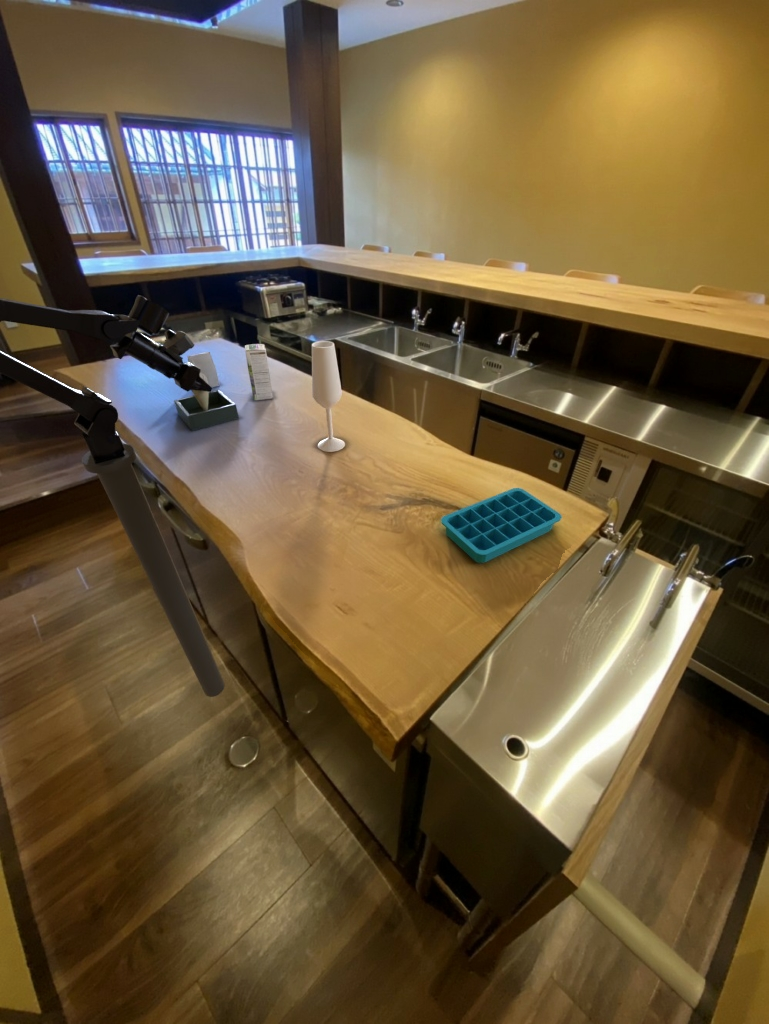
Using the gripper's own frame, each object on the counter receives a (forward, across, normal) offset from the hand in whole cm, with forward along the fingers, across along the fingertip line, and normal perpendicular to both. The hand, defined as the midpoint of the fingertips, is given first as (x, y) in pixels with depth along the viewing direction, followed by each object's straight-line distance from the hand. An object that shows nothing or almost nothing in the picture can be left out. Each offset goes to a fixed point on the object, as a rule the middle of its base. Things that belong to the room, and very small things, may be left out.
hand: (205, 385), depth 112 cm
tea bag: (+11, +21, +1) cm, 24 cm away
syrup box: (+18, +2, -6) cm, 19 cm away
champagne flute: (+16, -36, -4) cm, 39 cm away
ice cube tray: (+19, -83, -7) cm, 85 cm away
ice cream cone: (+4, 0, +7) cm, 8 cm away
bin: (+5, 0, +7) cm, 8 cm away
